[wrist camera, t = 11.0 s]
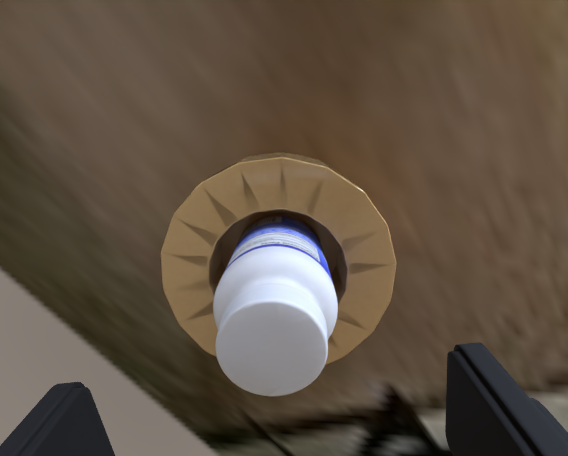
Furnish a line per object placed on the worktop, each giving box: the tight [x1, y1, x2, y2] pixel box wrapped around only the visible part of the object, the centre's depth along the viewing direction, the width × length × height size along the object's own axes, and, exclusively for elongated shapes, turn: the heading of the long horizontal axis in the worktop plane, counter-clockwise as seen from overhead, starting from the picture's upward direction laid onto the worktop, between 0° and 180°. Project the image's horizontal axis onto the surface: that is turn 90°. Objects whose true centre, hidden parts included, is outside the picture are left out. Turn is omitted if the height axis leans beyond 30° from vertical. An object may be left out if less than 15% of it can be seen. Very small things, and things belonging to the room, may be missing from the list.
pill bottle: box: [213, 214, 338, 396], centre depth 16 cm, size 5×5×10 cm
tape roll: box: [161, 152, 396, 365], centre depth 19 cm, size 12×12×4 cm
